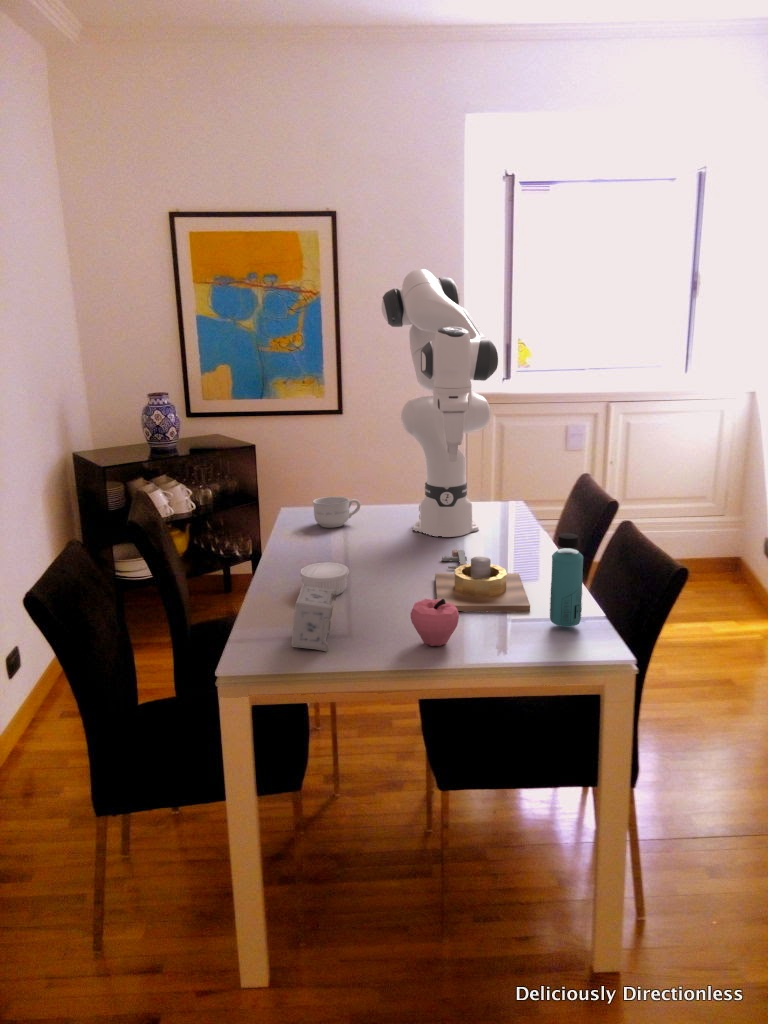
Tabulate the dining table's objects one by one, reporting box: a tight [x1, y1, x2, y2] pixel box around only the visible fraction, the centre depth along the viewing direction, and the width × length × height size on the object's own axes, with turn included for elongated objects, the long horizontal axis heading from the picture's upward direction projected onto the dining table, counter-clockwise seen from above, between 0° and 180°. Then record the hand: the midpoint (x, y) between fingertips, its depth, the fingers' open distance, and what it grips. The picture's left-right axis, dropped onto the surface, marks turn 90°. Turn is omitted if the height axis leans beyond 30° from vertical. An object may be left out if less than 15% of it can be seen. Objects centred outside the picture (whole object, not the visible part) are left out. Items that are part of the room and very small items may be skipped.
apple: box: [410, 598, 460, 647], centre depth 159 cm, size 10×9×10 cm
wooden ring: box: [454, 563, 508, 598], centre depth 185 cm, size 12×12×4 cm
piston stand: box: [434, 556, 531, 613], centre depth 184 cm, size 20×20×8 cm
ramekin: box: [299, 561, 350, 597], centre depth 189 cm, size 11×11×5 cm
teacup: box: [312, 496, 361, 529], centre depth 239 cm, size 14×11×8 cm
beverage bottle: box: [549, 532, 584, 627], centre depth 164 cm, size 6×7×20 cm
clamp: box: [441, 549, 468, 570], centre depth 204 cm, size 15×2×10 cm
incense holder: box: [290, 585, 337, 652], centre depth 161 cm, size 10×8×10 cm
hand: (451, 457), depth 192 cm, fingers open, 8 cm apart
